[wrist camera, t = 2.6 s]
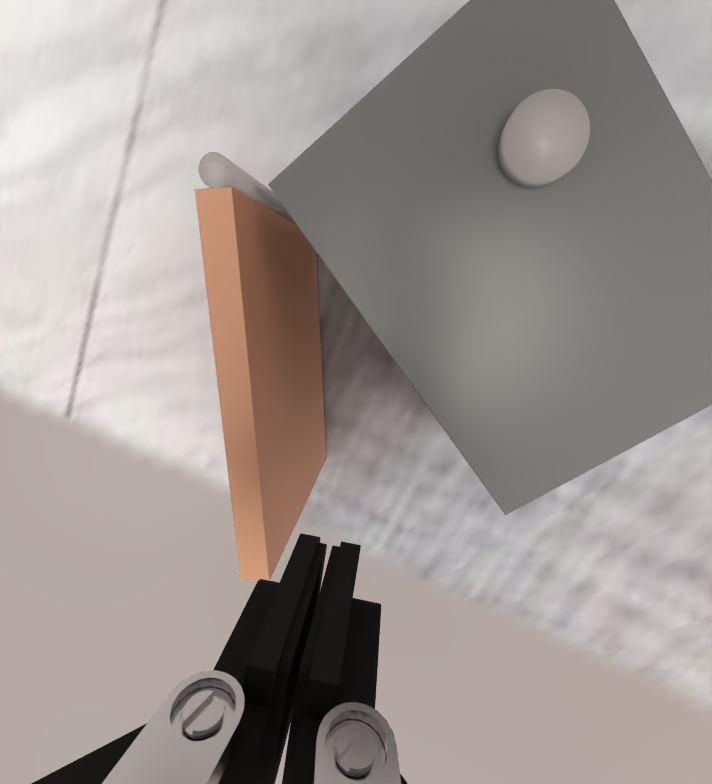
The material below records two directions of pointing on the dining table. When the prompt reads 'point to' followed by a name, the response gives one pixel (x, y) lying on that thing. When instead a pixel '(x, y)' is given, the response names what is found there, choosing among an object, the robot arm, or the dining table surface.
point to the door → (262, 357)
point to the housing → (523, 238)
